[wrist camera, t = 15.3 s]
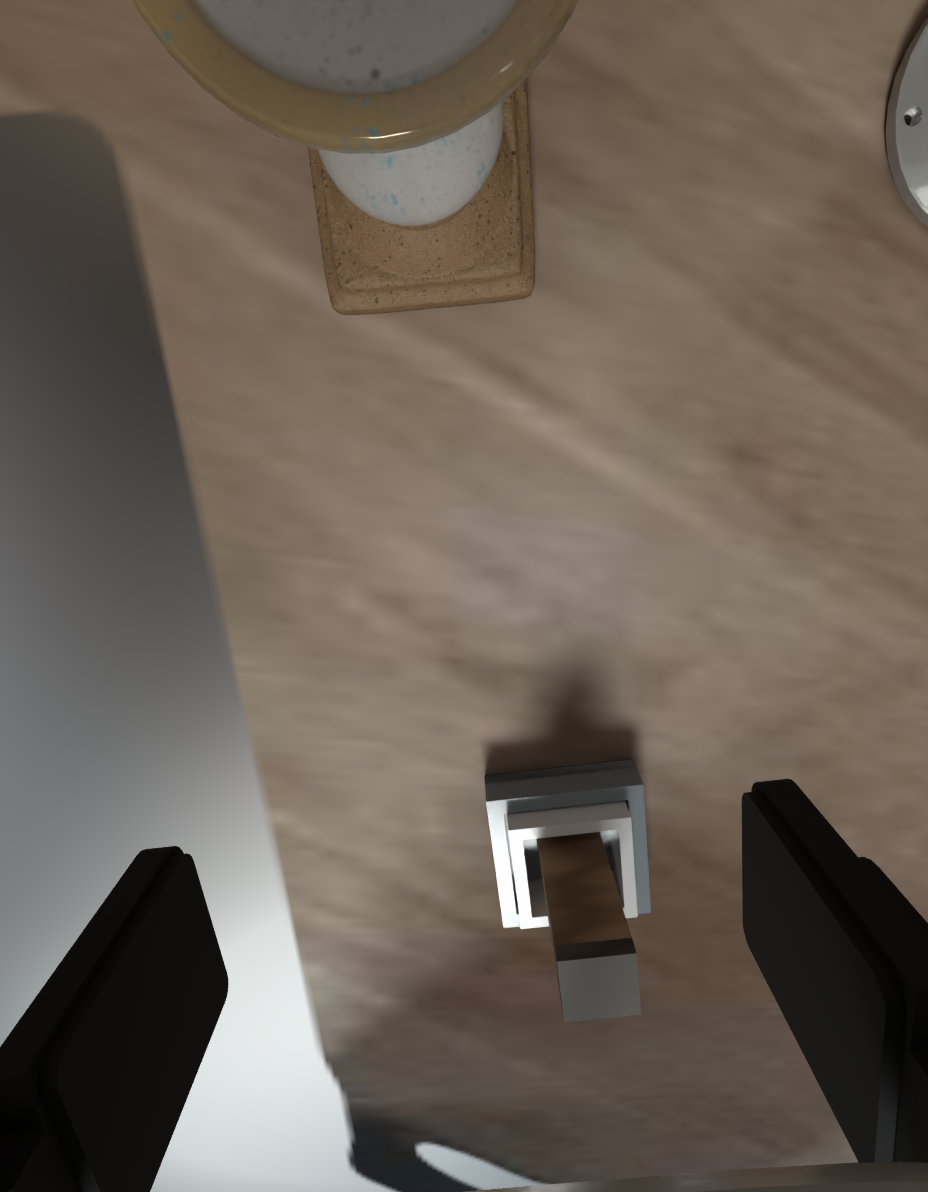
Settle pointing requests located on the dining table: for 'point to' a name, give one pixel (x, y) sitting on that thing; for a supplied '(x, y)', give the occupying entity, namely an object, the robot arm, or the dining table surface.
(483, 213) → the candle holder
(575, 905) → the brown tall boxy piece
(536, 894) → the candle tray
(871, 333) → the dining table surface
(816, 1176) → the robot arm
